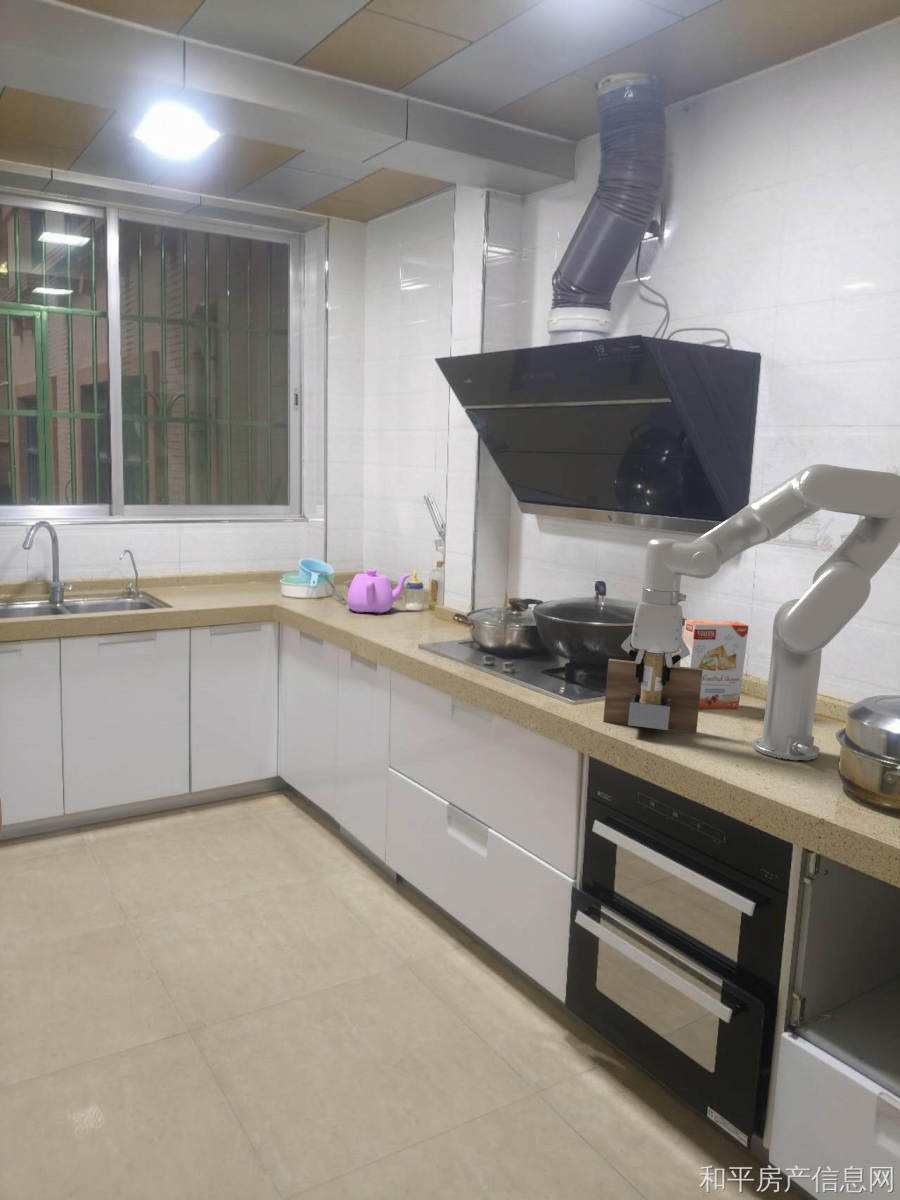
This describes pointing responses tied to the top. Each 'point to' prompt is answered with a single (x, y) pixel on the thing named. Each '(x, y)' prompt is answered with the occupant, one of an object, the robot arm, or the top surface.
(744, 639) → the cracker box
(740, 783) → the top surface
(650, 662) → the sprinkles bottle
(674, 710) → the wall holder
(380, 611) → the teapot
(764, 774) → the top surface
